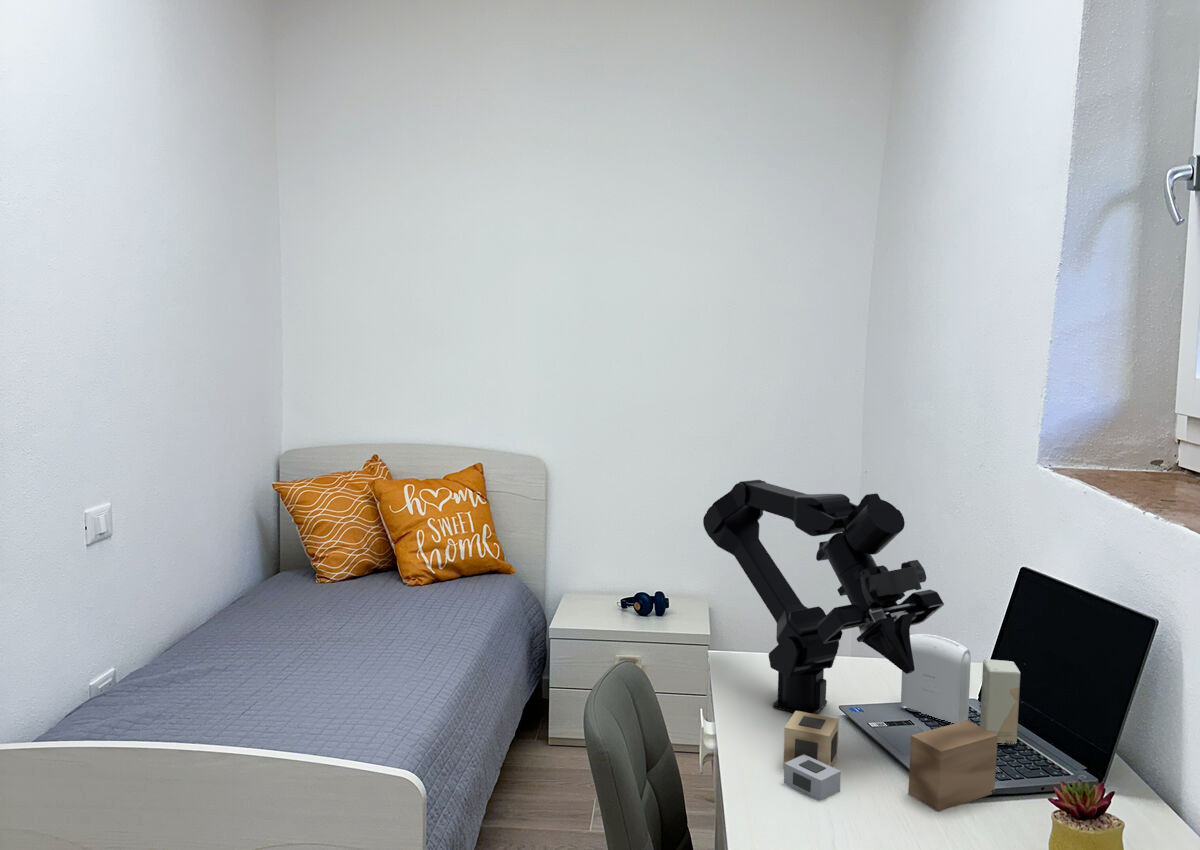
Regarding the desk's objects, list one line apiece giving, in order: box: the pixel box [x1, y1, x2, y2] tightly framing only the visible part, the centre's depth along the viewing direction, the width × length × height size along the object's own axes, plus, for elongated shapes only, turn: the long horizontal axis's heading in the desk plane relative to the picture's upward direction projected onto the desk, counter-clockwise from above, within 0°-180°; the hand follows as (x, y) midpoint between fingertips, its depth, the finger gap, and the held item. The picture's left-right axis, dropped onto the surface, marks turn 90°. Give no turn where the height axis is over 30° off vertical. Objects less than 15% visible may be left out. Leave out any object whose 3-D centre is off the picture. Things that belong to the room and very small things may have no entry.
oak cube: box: [782, 711, 840, 770], centre depth 134 cm, size 6×6×6 cm
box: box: [979, 658, 1021, 744], centre depth 142 cm, size 5×4×11 cm
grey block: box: [783, 754, 842, 802], centre depth 128 cm, size 6×4×3 cm
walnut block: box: [907, 719, 998, 813], centre depth 126 cm, size 5×10×8 cm, turn 118°
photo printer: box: [900, 633, 972, 724], centre depth 150 cm, size 10×4×12 cm, turn 47°
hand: (910, 672), depth 132 cm, fingers closed
